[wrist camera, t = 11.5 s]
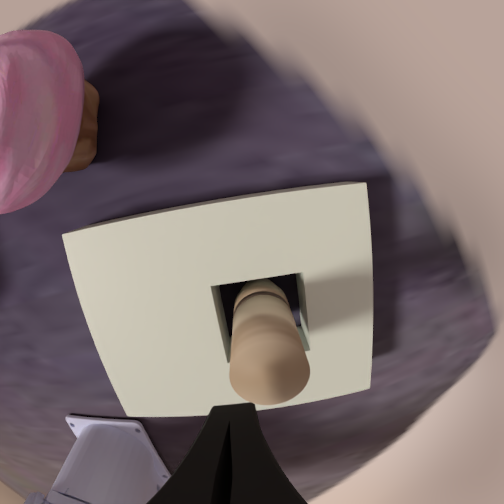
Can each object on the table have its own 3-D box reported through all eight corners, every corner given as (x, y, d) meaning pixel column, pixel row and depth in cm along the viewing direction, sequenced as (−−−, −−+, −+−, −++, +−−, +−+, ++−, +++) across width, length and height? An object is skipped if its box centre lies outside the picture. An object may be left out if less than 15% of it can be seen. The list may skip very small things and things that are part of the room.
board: (355, 363, 20) (369, 388, 17) (139, 390, 20) (127, 416, 17) (346, 181, 17) (366, 182, 14) (86, 225, 17) (61, 234, 14)
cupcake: (132, 192, 17) (22, 213, 7) (26, 207, 17) (-84, 235, 7) (132, 53, 15) (50, -27, 5) (26, 86, 14) (-72, 58, 5)
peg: (287, 314, 19) (312, 397, 11) (239, 322, 19) (237, 409, 11) (280, 269, 18) (306, 335, 10) (230, 277, 18) (221, 349, 10)
